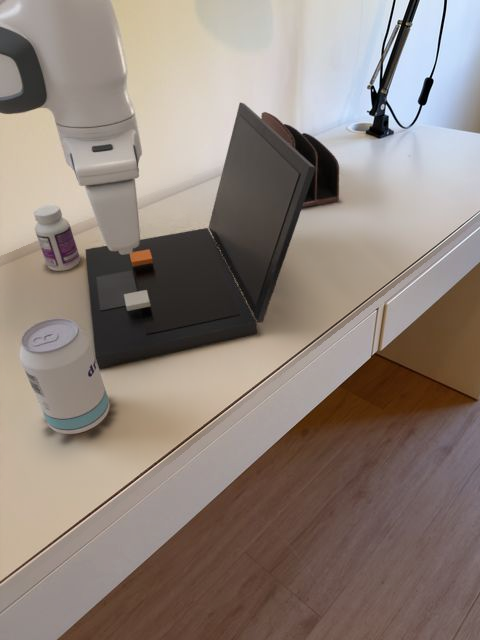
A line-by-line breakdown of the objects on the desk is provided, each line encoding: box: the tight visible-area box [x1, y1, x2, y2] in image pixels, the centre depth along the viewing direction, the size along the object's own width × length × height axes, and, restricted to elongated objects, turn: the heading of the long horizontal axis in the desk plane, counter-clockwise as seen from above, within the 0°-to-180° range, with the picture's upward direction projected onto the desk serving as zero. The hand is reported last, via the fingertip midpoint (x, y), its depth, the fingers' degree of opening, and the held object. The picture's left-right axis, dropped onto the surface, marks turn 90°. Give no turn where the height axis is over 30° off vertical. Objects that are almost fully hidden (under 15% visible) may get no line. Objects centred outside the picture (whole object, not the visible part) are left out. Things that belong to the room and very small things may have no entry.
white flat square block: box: [124, 290, 151, 311], centre depth 73 cm, size 3×3×1 cm
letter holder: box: [260, 111, 340, 209], centre depth 105 cm, size 10×20×14 cm, turn 17°
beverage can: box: [19, 317, 111, 435], centre depth 56 cm, size 7×7×12 cm
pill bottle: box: [33, 204, 81, 272], centre depth 85 cm, size 5×5×10 cm
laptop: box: [85, 227, 258, 370], centre depth 79 cm, size 21×30×2 cm
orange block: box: [130, 249, 153, 266], centre depth 82 cm, size 3×3×1 cm
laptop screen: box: [207, 102, 316, 323], centre depth 76 cm, size 21×30×1 cm
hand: (125, 249), depth 70 cm, fingers closed
